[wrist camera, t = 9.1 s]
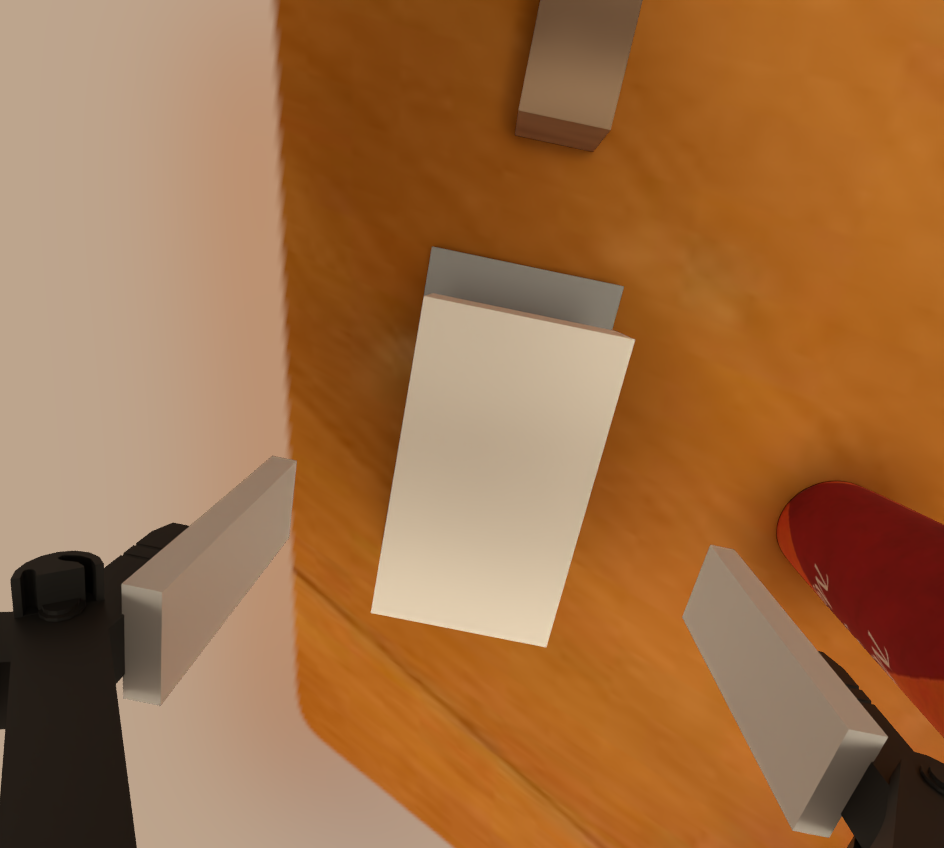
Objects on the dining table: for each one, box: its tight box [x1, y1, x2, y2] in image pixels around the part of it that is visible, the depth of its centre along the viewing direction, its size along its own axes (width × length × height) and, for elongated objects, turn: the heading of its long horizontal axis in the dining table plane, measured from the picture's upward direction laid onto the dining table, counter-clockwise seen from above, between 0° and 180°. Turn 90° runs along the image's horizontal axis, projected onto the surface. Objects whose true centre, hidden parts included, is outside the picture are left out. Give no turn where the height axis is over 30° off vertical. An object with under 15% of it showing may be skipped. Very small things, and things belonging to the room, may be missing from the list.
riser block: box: [515, 0, 642, 152], centre depth 23 cm, size 8×4×4 cm, turn 169°
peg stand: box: [381, 246, 624, 550], centre depth 27 cm, size 18×10×6 cm, turn 169°
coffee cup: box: [777, 481, 944, 738], centre depth 23 cm, size 8×8×15 cm
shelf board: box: [371, 293, 635, 647], centre depth 22 cm, size 14×8×3 cm, turn 169°
